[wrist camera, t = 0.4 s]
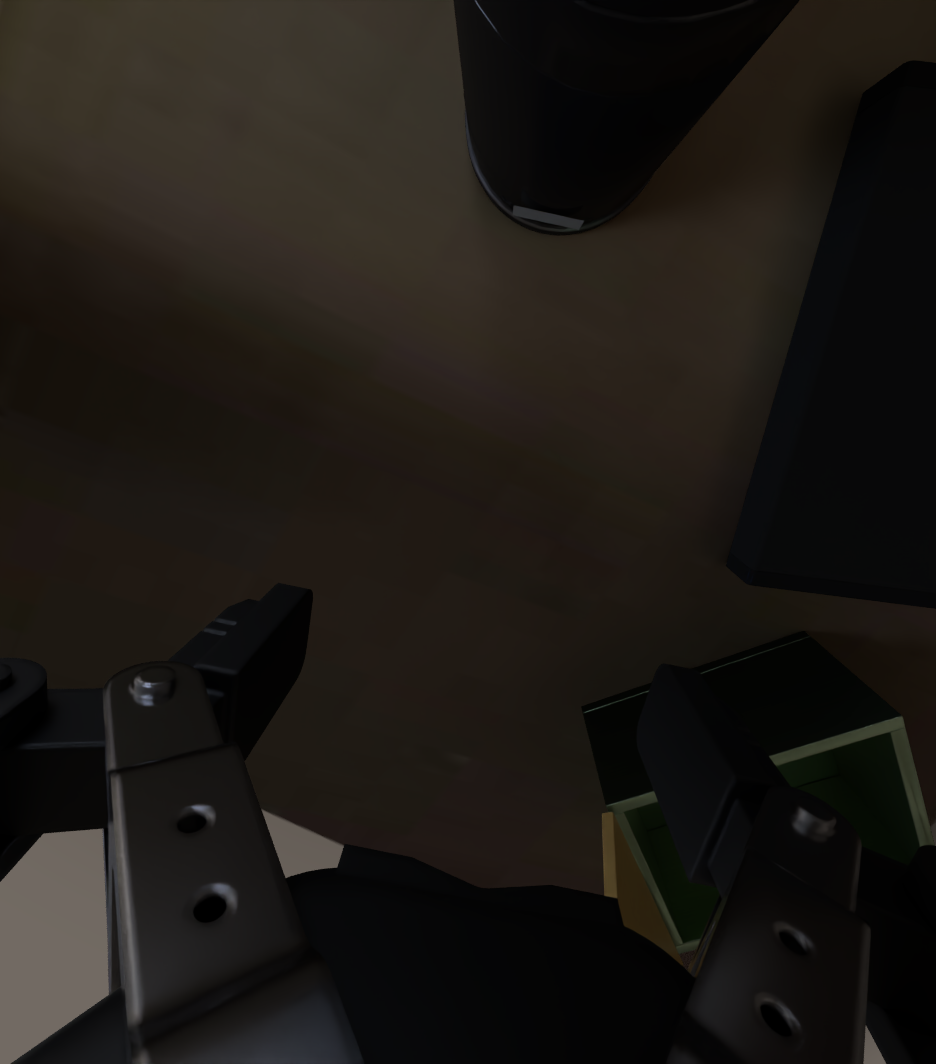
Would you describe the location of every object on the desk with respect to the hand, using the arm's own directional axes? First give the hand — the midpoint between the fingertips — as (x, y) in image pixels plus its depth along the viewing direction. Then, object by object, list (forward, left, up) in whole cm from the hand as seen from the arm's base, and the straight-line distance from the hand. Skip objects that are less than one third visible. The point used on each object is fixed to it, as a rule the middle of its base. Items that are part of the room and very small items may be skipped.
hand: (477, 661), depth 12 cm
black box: (+13, +19, -19) cm, 30 cm away
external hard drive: (-11, +21, -20) cm, 30 cm away
